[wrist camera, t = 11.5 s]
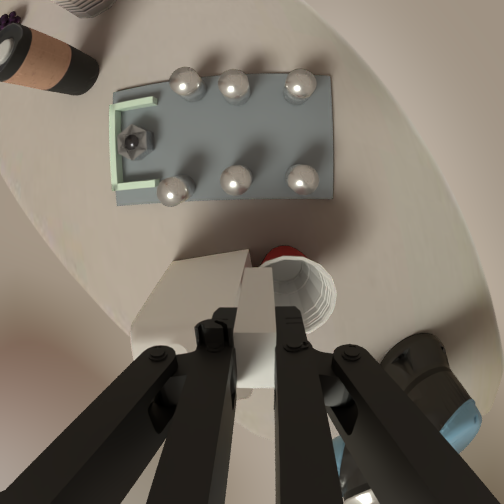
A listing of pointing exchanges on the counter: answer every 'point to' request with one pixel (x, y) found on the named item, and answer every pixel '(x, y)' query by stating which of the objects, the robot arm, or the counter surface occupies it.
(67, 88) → the travel mug
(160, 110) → the board
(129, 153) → the nut
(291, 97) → the spacers
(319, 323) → the plastic cup
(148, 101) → the parts pocket
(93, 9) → the can
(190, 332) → the milk
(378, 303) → the counter surface
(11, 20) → the fruit
